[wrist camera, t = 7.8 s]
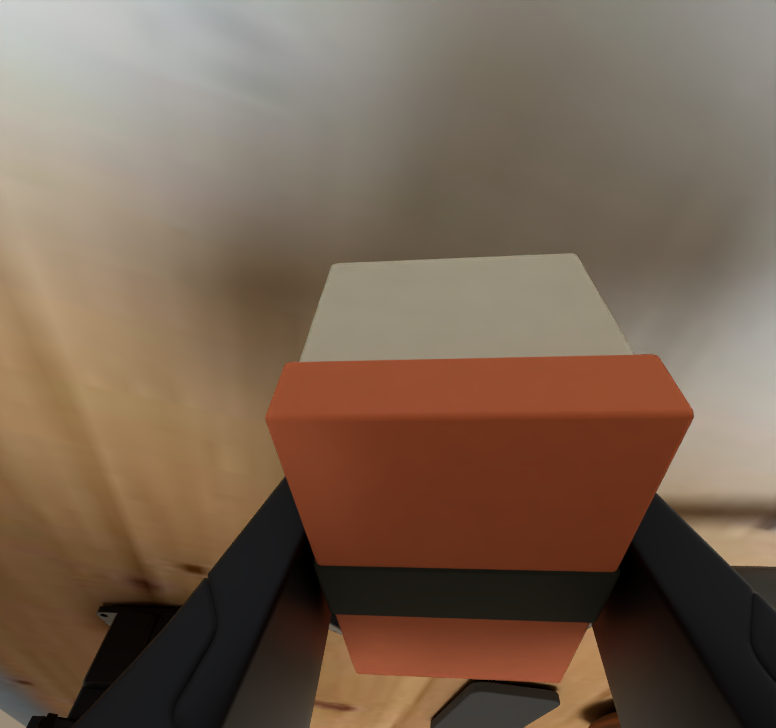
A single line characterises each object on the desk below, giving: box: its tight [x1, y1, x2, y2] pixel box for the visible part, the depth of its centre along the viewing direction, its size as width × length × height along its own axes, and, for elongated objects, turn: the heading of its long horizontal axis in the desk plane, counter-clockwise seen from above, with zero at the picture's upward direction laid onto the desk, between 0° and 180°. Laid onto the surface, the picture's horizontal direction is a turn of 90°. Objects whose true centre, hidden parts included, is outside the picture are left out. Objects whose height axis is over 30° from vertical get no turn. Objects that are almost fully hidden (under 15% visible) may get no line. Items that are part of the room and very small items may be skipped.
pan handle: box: [731, 566, 776, 610], centre depth 17 cm, size 9×2×2 cm, turn 94°
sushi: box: [265, 253, 694, 683], centre depth 8 cm, size 7×4×4 cm, turn 4°
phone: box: [431, 682, 560, 728], centre depth 40 cm, size 7×1×15 cm
